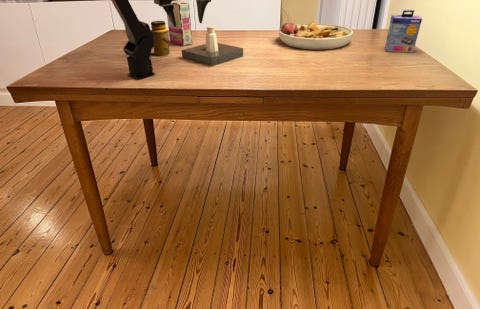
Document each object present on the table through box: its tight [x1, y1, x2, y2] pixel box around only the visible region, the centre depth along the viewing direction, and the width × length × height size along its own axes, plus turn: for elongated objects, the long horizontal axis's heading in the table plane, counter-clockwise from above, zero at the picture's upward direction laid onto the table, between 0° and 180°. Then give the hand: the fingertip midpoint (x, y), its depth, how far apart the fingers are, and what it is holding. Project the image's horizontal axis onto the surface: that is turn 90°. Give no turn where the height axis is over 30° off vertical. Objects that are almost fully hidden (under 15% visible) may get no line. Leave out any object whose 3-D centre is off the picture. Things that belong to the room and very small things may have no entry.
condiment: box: [150, 20, 174, 59], centre depth 126 cm, size 7×8×12 cm
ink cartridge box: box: [384, 9, 423, 53], centre depth 123 cm, size 10×6×14 cm, turn 78°
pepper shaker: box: [205, 25, 218, 52], centre depth 121 cm, size 5×5×11 cm
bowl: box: [278, 22, 354, 51], centre depth 139 cm, size 30×30×8 cm
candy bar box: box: [166, 0, 193, 47], centre depth 140 cm, size 11×5×16 cm, turn 41°
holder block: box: [181, 42, 244, 67], centre depth 123 cm, size 16×16×3 cm
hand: (188, 25), depth 110 cm, fingers open, 9 cm apart
